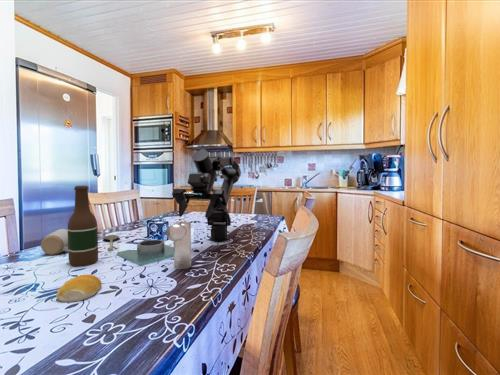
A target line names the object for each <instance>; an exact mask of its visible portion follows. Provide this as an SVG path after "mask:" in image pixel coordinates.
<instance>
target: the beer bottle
mask: <svg viewBox="0 0 500 375" xmlns="http://www.w3.org/2000/svg"><path fill="white" fill-rule="evenodd" d="M73 190H74V191H75V194H74V209H73V213H72V214H71V215H70V217H69V220H68V221H67V222H68V223H67V230H68V252H67V254H68V264H69V265H70V266H72V267H74V268H75V267H76V268H77V267H87V266H91V265H93V264H95V263H96V262H97V261H98V260H99V241H98V240H99V239H98V238H99V235H98V220H97V219H96V216H95V215H94V214H93V212H92V210H91V207H90V201H89V191H88V190H90V189H89V187H88V185H76V186H74V189H73Z"/></svg>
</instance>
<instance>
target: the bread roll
mask: <svg viewBox="0 0 500 375" xmlns="http://www.w3.org/2000/svg"><path fill="white" fill-rule="evenodd" d="M101 287H102V280H101V279H100V278H98V277H97V276H96V275H93V274H80V275H78V276H75V277H73V278H70V279H68V280H67V281H66V282H64V283H63V284H62V285H61V286H60V287H59V288H58V289H57V292H56V298H57V300H58V301H60V302H62V303H63V302H64V303H69V302H70V303H71V302H73V303H74V302H80V301H84V300H87V299H89V298H92V297H93V296H94V295H95V294H97V292H98V291H99V290H100V288H101Z"/></svg>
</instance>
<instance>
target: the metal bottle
mask: <svg viewBox="0 0 500 375" xmlns="http://www.w3.org/2000/svg"><path fill="white" fill-rule="evenodd" d="M172 224H173V225H170V226H168V228H167V229H166V238H167V239H169V241H172V242H173V247H174V257H173V268H174V269H175V270H185V269H189V268H191V267H192V236H191V233H192V230H191V229H192V228H191V227H192V226H191V225H192V223H191V222H190V221H177V222H176V221H175V222H173V223H172Z"/></svg>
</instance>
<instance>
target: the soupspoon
mask: <svg viewBox="0 0 500 375" xmlns="http://www.w3.org/2000/svg"><path fill="white" fill-rule="evenodd" d="M119 238H121V236H119V235H117V234H108V235H106V236H104V237H102V240H107V241H108V240H109V243H110V244H109V248H108V249H107V252H114V248H113V240H116V239H119Z"/></svg>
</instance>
